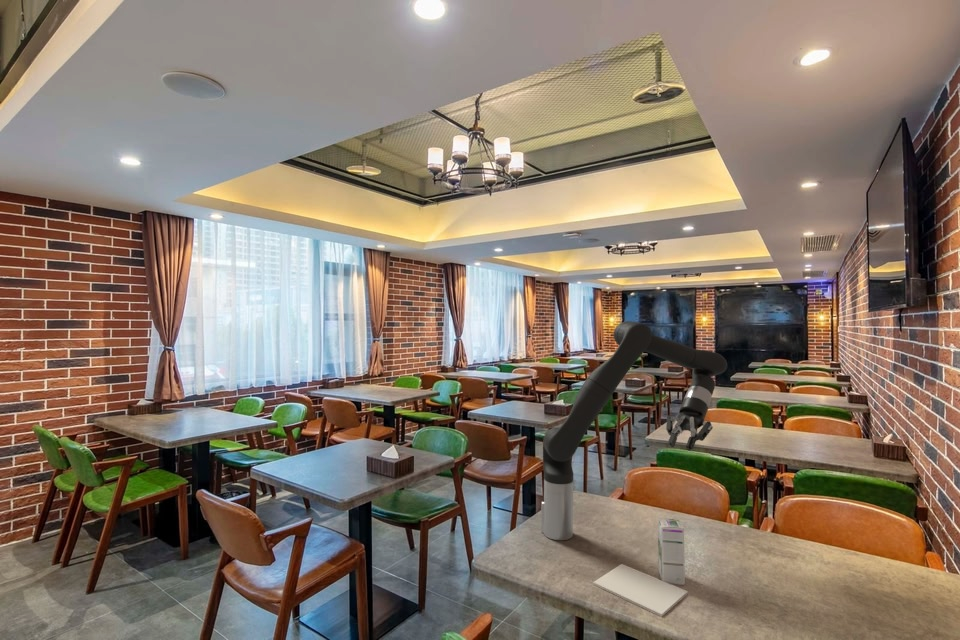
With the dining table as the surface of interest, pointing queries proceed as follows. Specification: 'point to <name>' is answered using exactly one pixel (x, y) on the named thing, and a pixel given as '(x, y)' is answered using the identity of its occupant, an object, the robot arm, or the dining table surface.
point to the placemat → (641, 589)
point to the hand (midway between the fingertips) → (679, 447)
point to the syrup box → (671, 551)
